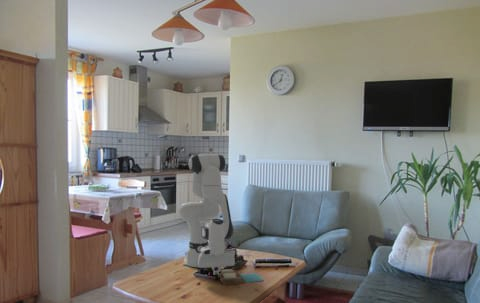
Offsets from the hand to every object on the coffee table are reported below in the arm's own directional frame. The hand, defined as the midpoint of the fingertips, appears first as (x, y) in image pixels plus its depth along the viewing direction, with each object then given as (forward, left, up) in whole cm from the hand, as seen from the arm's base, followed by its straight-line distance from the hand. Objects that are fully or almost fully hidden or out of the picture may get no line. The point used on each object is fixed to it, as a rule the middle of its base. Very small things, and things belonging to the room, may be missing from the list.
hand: (216, 274), depth 207 cm
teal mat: (-1, +20, -4) cm, 21 cm away
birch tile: (0, +7, -1) cm, 7 cm away
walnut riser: (0, +8, -4) cm, 9 cm away
